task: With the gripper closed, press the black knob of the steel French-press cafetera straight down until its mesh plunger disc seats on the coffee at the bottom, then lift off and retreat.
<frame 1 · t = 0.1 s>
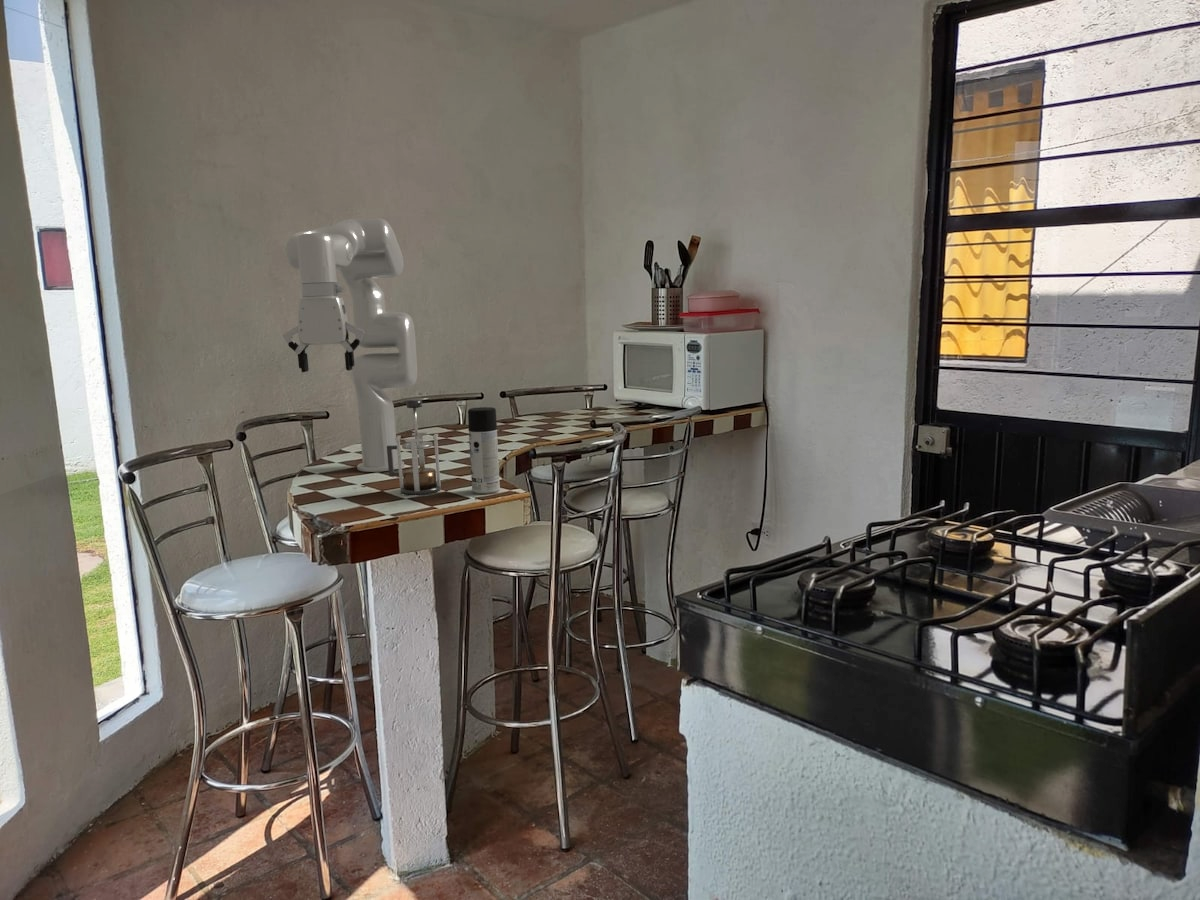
hand: (327, 370, 191), 31 cm above the counter, fingers open, 9 cm apart
spray can: (486, 492, 208), on the counter
cafetera: (420, 490, 211), on the counter
plunger: (415, 423, 208), point 17 cm above the counter, slide at 0.0 cm
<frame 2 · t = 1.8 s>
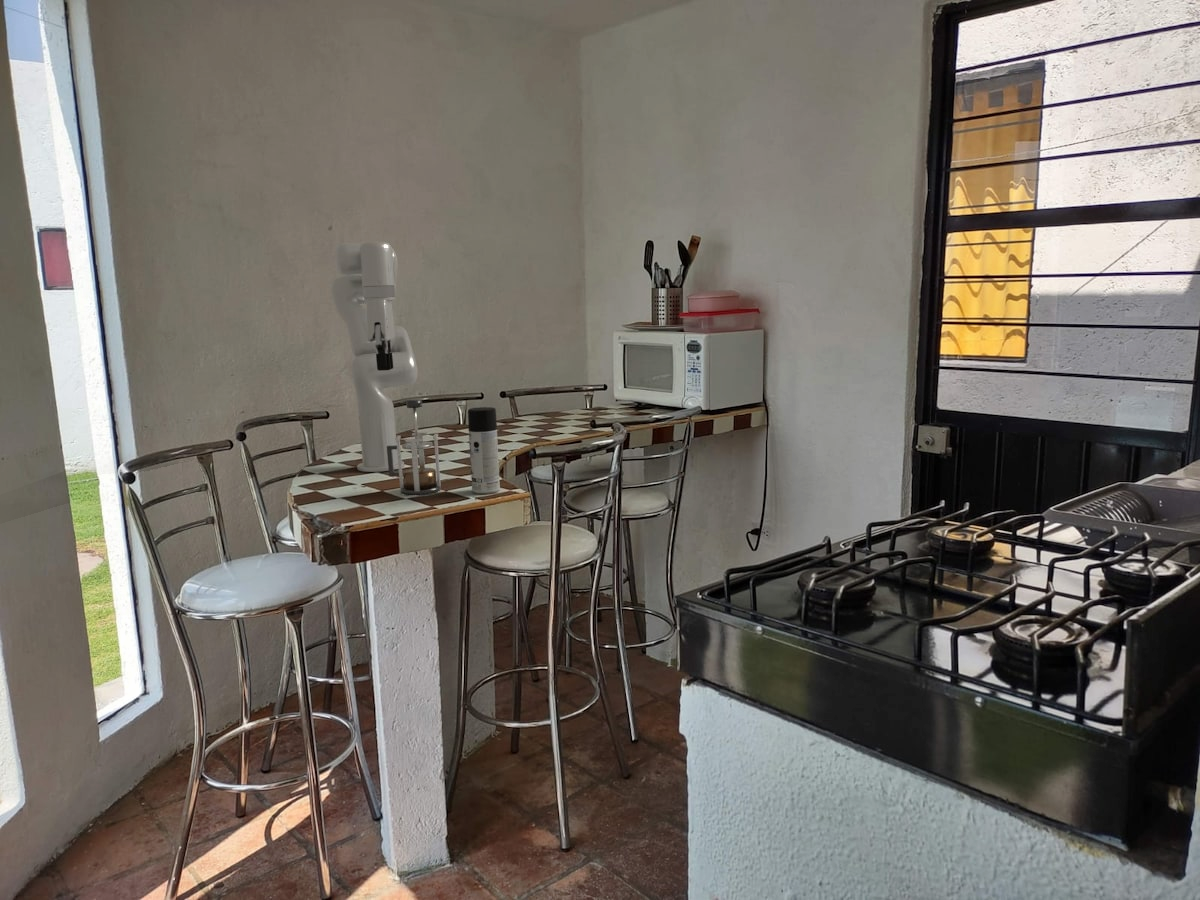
hand: (385, 369, 214), 29 cm above the counter, fingers closed
nothing on the counter moved.
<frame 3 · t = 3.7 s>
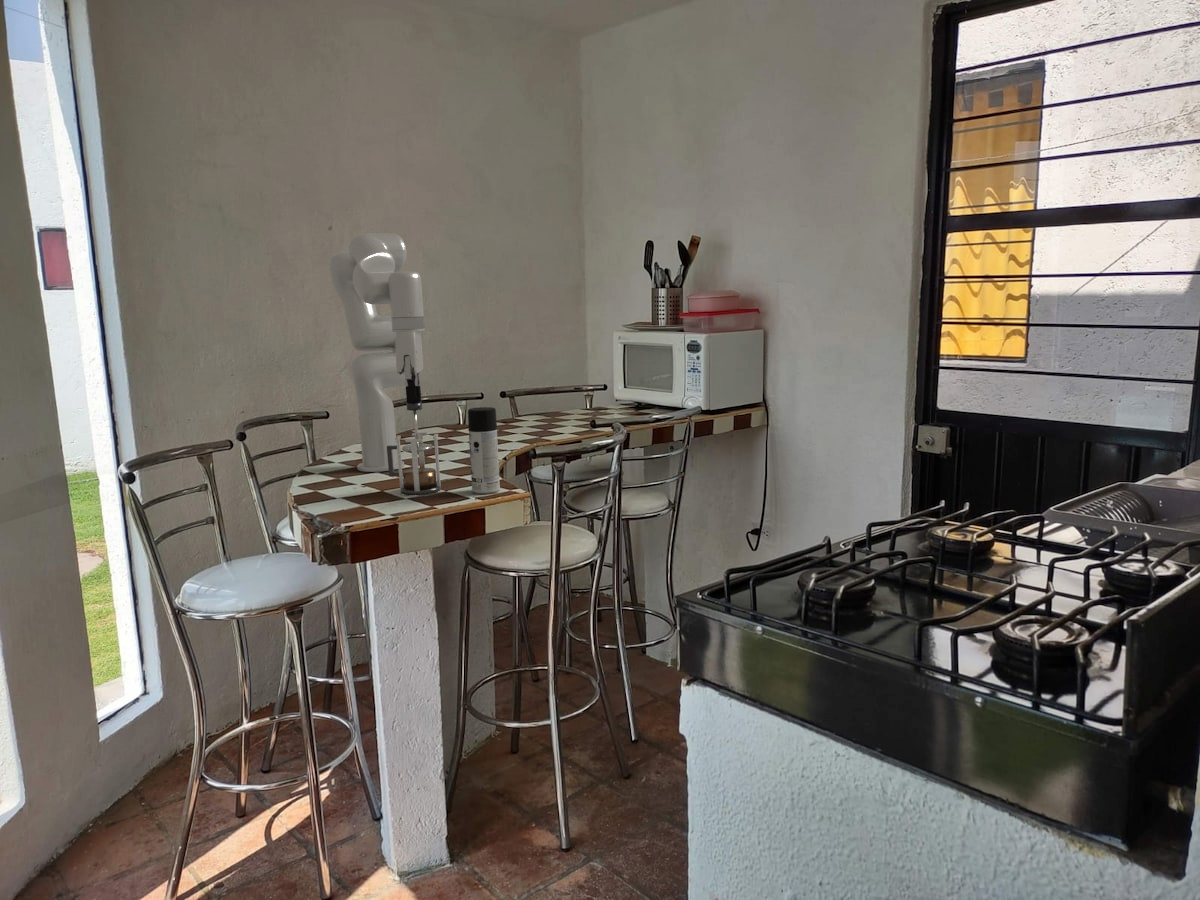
hand: (414, 402, 207), 22 cm above the counter, fingers closed
plunger: (415, 425, 208), point 16 cm above the counter, slide at 0.6 cm, touching gripper
everything else where it was.
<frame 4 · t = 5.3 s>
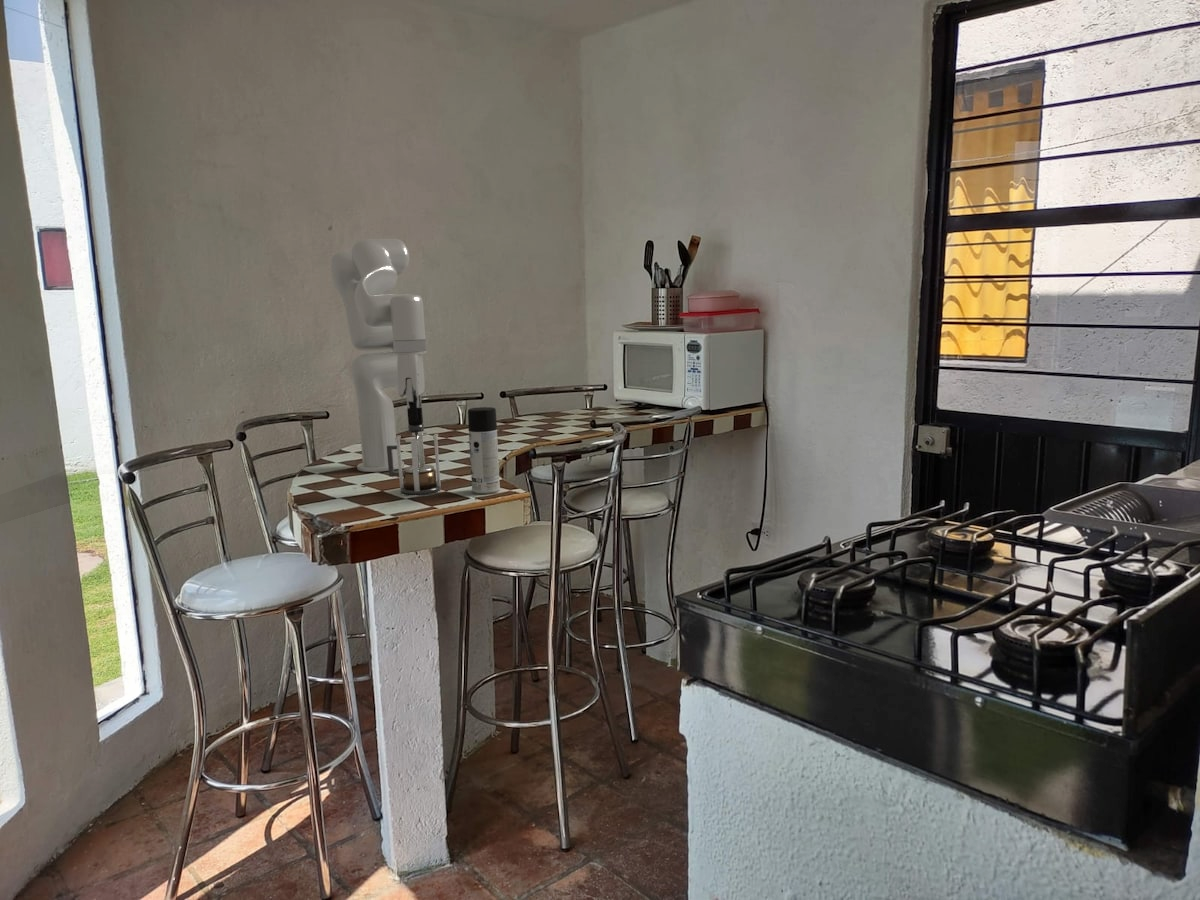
hand: (415, 424, 208), 16 cm above the counter, fingers closed
plunger: (417, 447, 209), point 11 cm above the counter, slide at 5.8 cm, touching gripper
everything else where it was.
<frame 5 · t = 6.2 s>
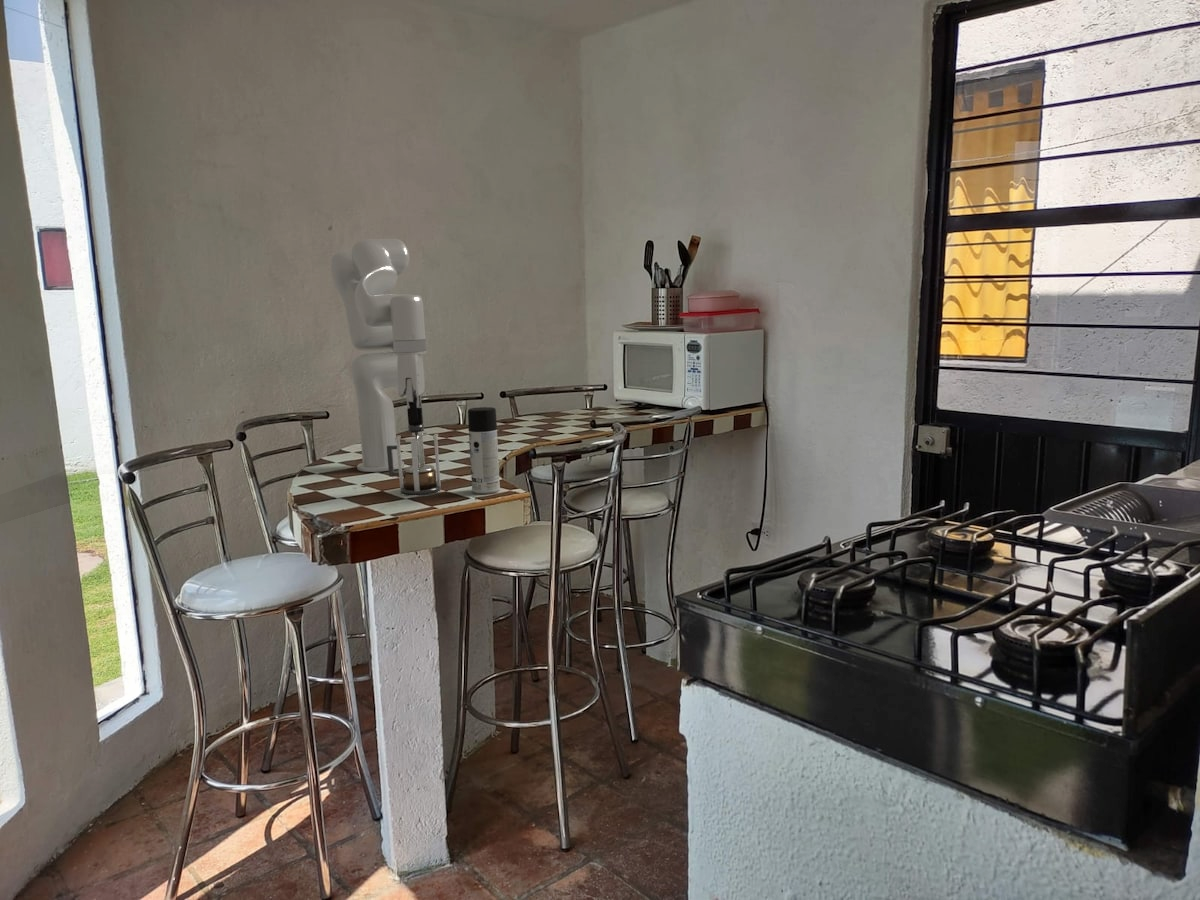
hand: (415, 424, 208), 16 cm above the counter, fingers closed
nothing on the counter moved.
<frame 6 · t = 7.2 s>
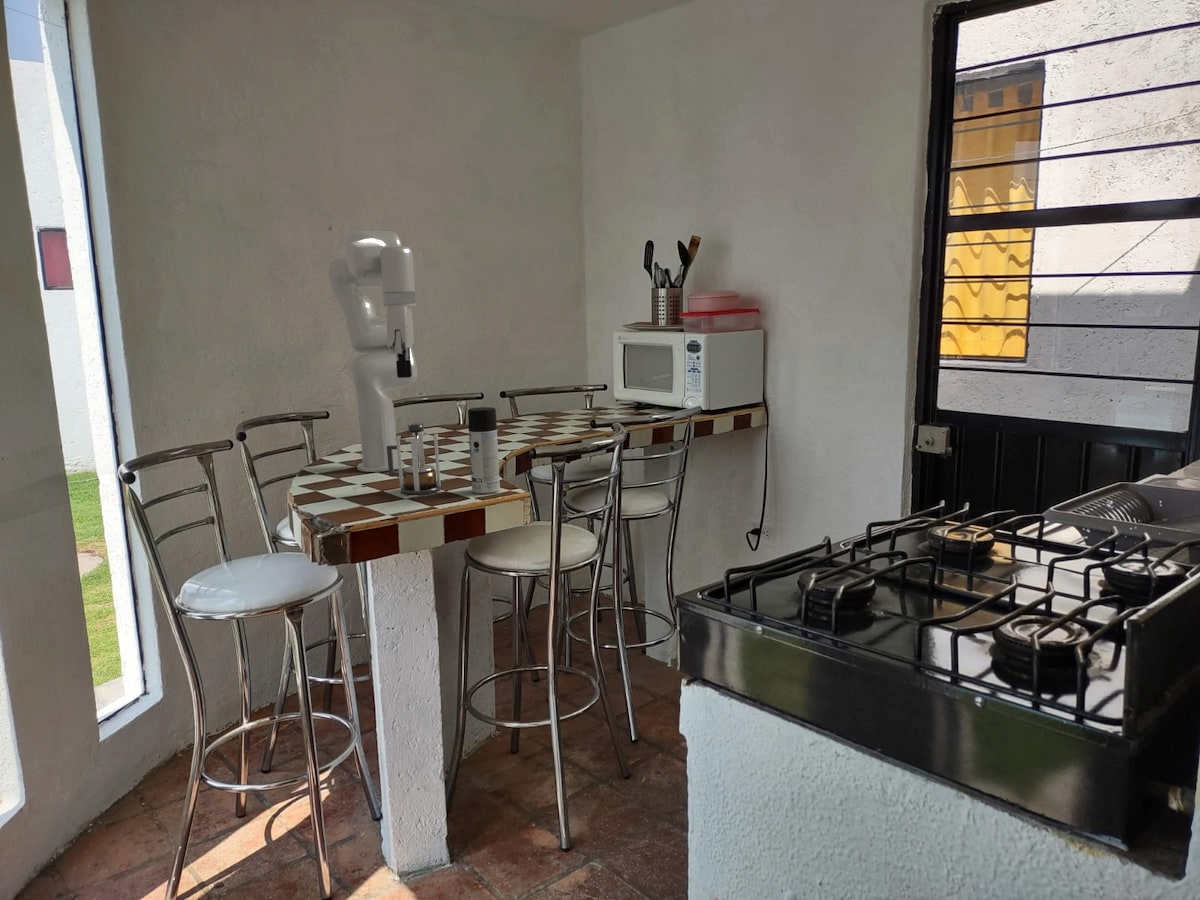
hand: (404, 377, 209), 28 cm above the counter, fingers closed
plunger: (417, 447, 209), point 11 cm above the counter, slide at 5.9 cm
everything else where it was.
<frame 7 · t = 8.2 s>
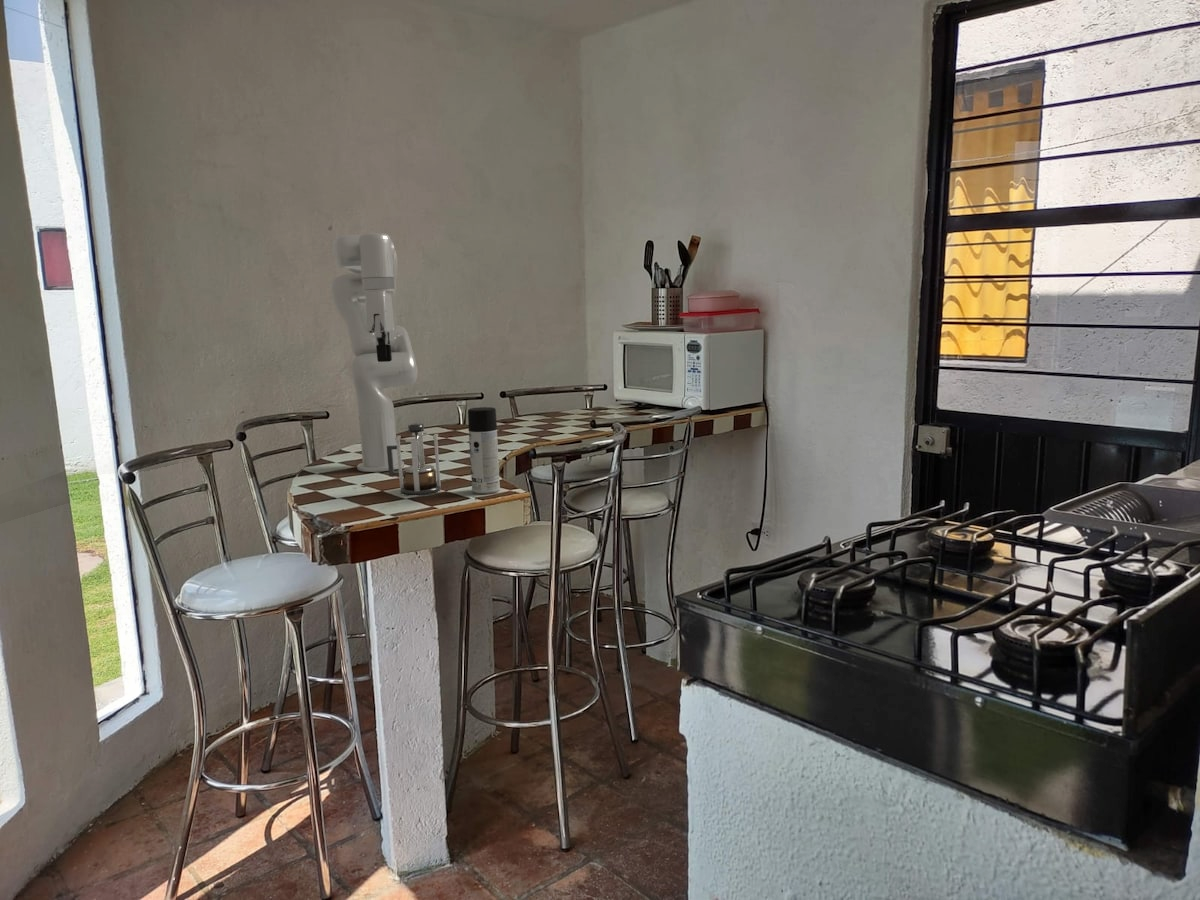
hand: (384, 361, 214), 31 cm above the counter, fingers closed
nothing on the counter moved.
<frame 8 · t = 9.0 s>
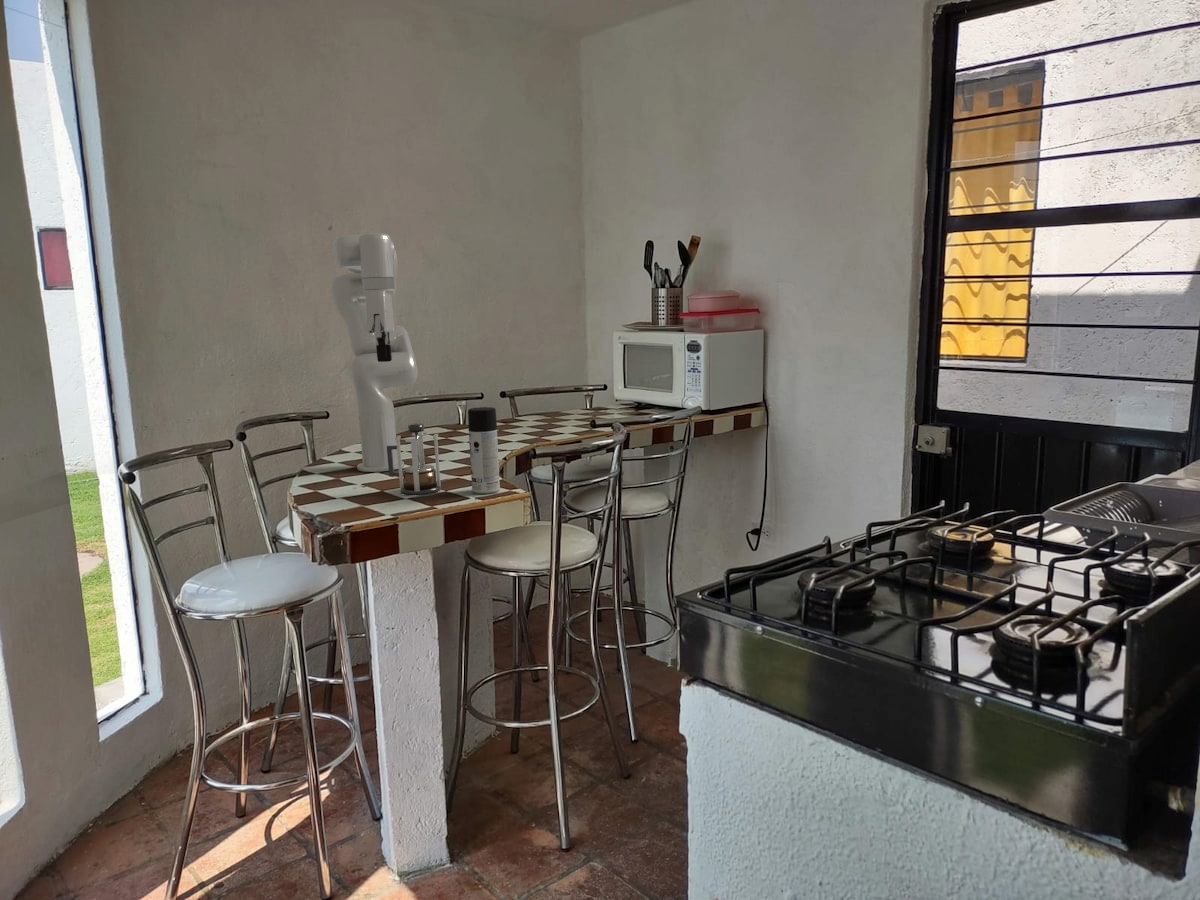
hand: (384, 361, 214), 31 cm above the counter, fingers closed
nothing on the counter moved.
at the end: plunger slide at 5.9 cm; spray can moved 0.2 cm from its start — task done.
